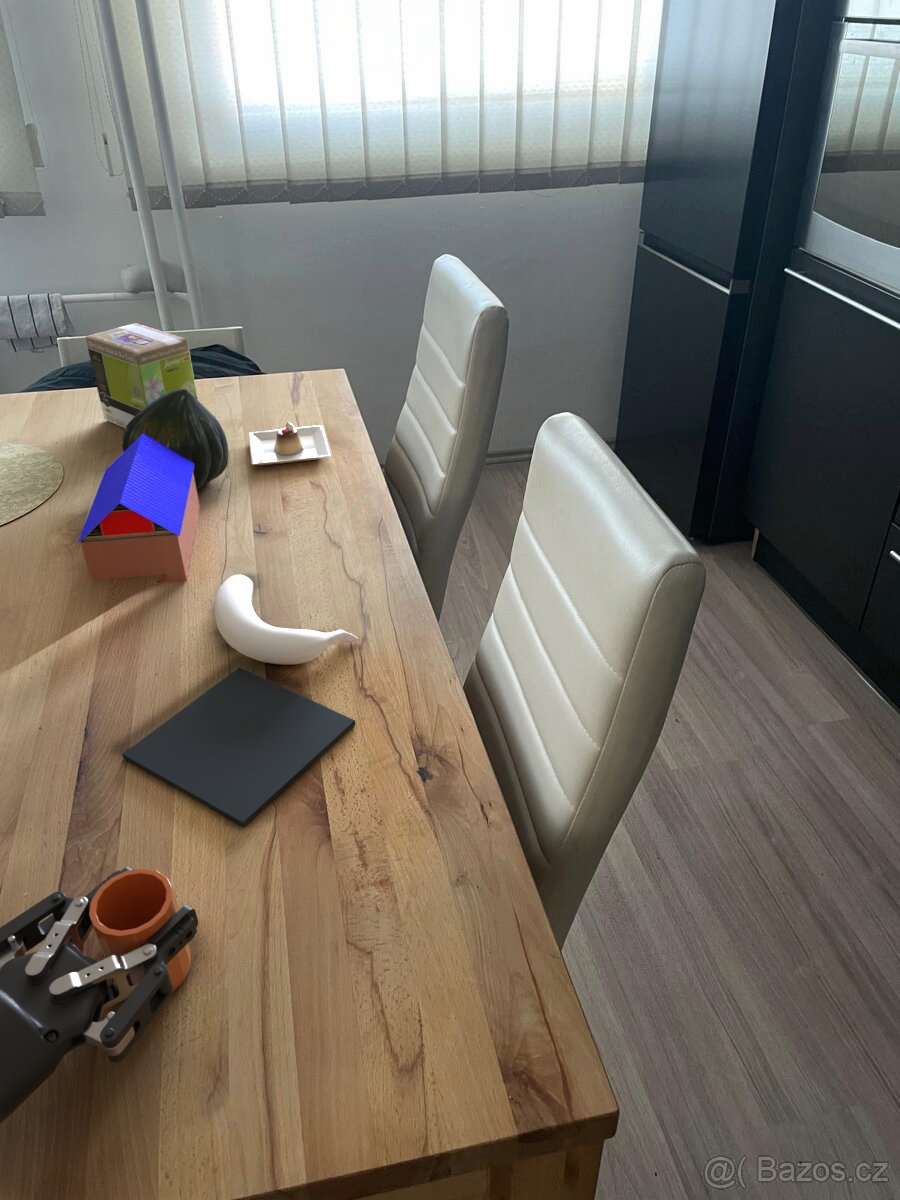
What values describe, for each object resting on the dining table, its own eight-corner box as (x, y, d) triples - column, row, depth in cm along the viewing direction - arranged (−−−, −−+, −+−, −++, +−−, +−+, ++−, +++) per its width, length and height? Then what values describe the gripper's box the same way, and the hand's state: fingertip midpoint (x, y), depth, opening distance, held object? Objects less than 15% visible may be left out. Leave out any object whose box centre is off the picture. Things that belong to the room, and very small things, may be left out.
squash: (87, 465, 130) (136, 394, 122) (140, 427, 142) (188, 359, 134) (166, 532, 133) (220, 466, 125) (212, 488, 145) (263, 426, 137)
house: (90, 590, 113) (66, 507, 107) (116, 512, 130) (96, 436, 123) (189, 582, 114) (171, 499, 108) (202, 505, 131) (188, 429, 124)
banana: (205, 594, 112) (321, 570, 116) (235, 693, 98) (366, 661, 102) (199, 561, 109) (318, 537, 113) (229, 658, 95) (364, 627, 99)
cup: (98, 977, 69) (72, 910, 65) (156, 923, 73) (135, 856, 69) (149, 1016, 67) (126, 949, 62) (206, 958, 71) (189, 891, 66)
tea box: (204, 424, 154) (189, 337, 146) (153, 444, 148) (135, 354, 140) (152, 402, 163) (135, 319, 154) (102, 420, 156) (81, 334, 148)
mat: (123, 758, 89) (121, 753, 88) (240, 670, 100) (239, 666, 99) (243, 827, 81) (242, 822, 81) (355, 724, 92) (355, 720, 92)
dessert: (252, 470, 140) (248, 441, 137) (249, 438, 149) (245, 411, 147) (331, 462, 142) (328, 433, 139) (322, 431, 152) (320, 403, 149)
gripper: (9, 1118, 51) (225, 905, 63) (-130, 990, 58) (88, 819, 70) (44, 1180, 56) (241, 971, 67) (-89, 1054, 62) (110, 883, 74)
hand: (162, 894), depth 68 cm, fingers closed on cup, 5 cm apart
